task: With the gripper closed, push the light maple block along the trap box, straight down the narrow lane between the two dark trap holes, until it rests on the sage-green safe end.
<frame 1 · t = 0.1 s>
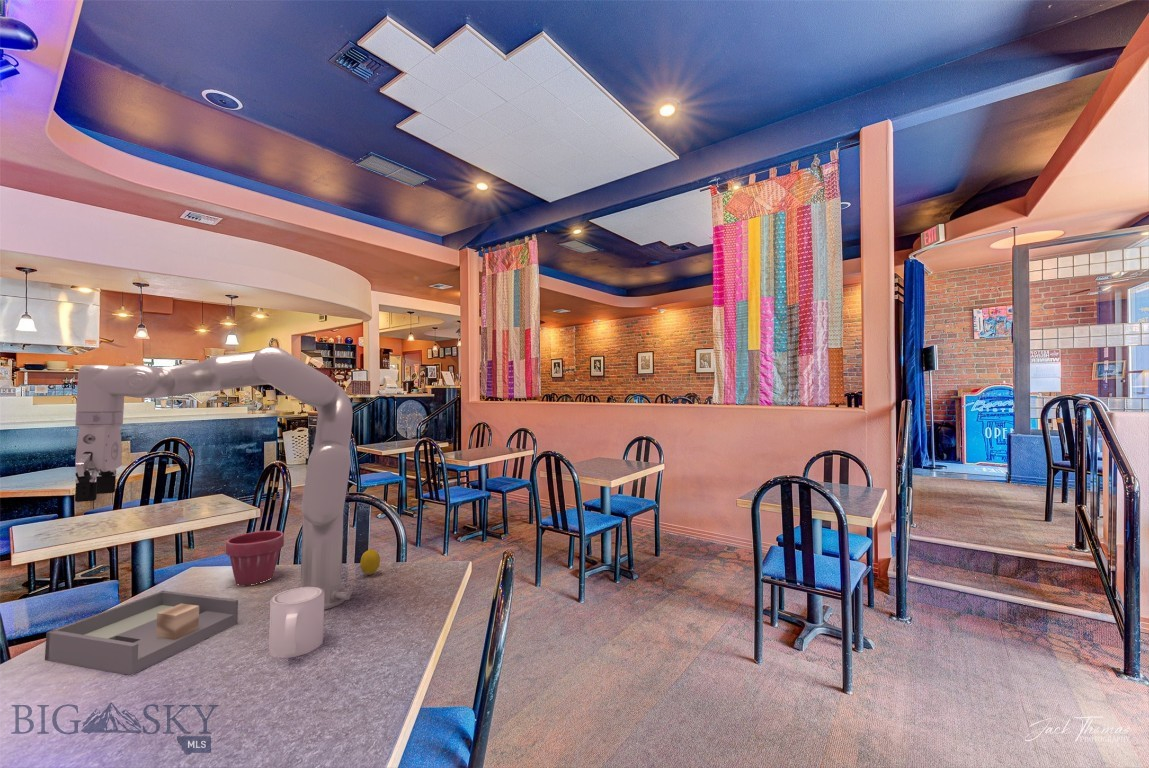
hand: (95, 497, 105), 31 cm above the table, tool pointing down, fingers open, 9 cm apart
lemon: (369, 575, 143), on the table
maple block: (177, 632, 102), point 2 cm above the table, touching trap box
trap box: (150, 640, 103), on the table
plant pot: (254, 581, 138), on the table
mug: (294, 648, 101), on the table
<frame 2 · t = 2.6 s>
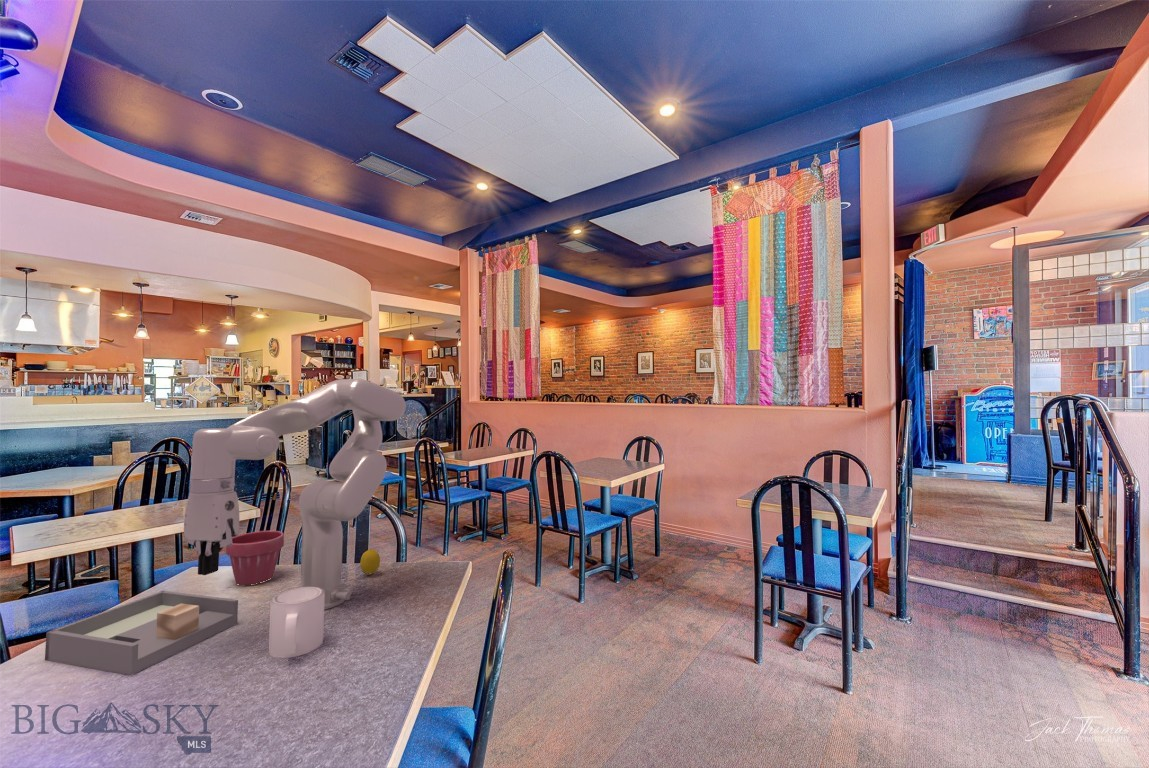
hand: (208, 572, 100), 16 cm above the table, tool pointing down, fingers closed
nothing on the table moved.
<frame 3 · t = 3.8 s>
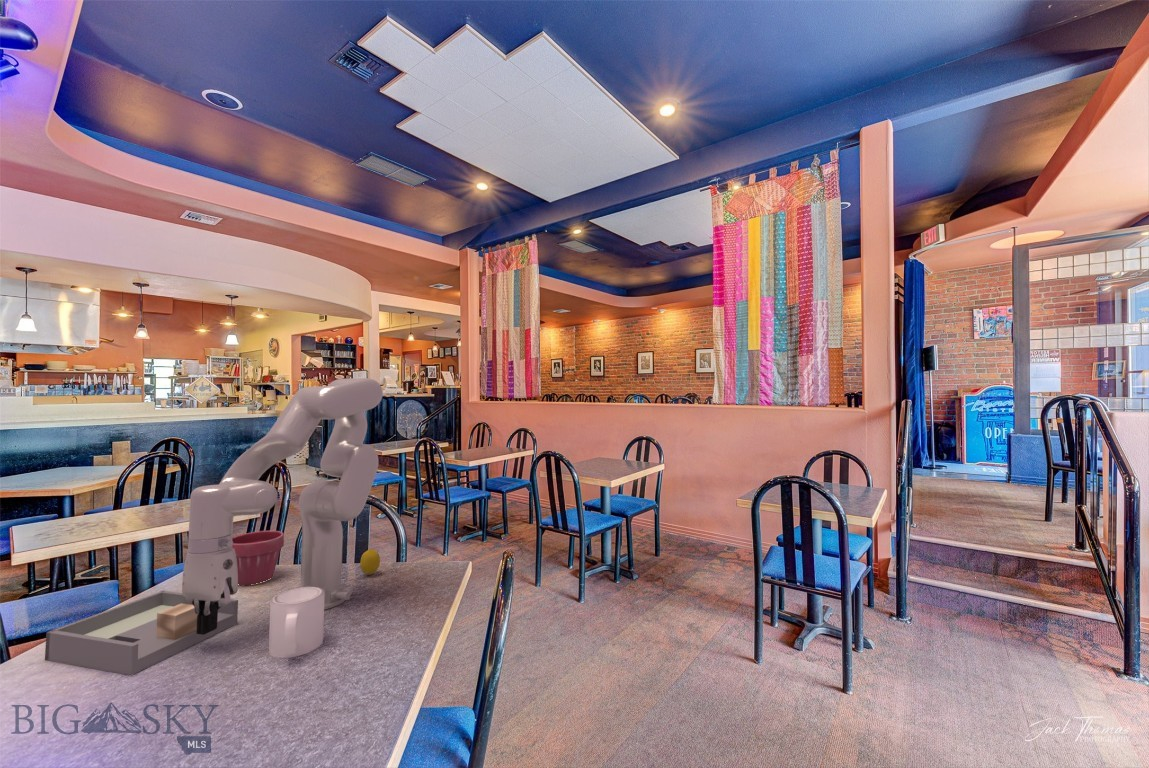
hand: (206, 631, 100), 4 cm above the table, tool pointing down, fingers closed
nothing on the table moved.
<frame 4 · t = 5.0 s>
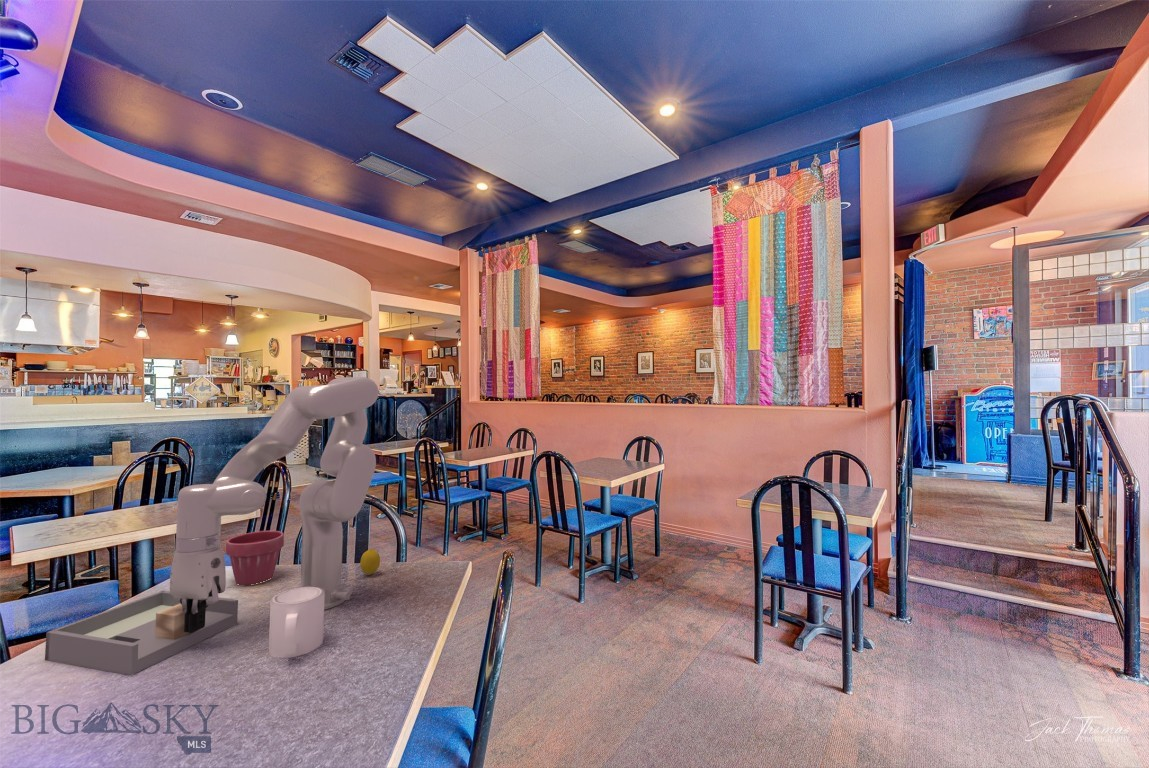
hand: (194, 629, 100), 4 cm above the table, tool pointing down, fingers closed
maple block: (176, 632, 102), point 2 cm above the table, touching gripper, trap box
everything else where it was.
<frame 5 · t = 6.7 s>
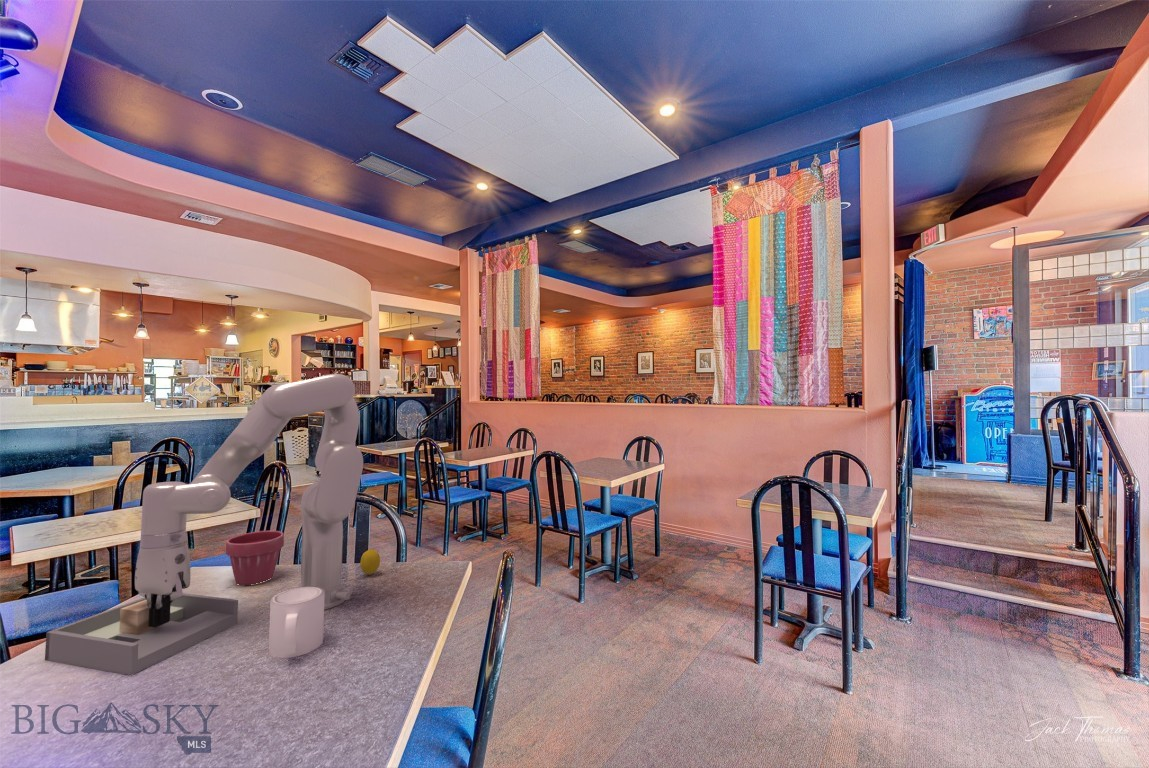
hand: (159, 624, 102), 4 cm above the table, tool pointing down, fingers closed
maple block: (141, 628, 103), point 3 cm above the table, touching gripper, trap box
everything else where it was.
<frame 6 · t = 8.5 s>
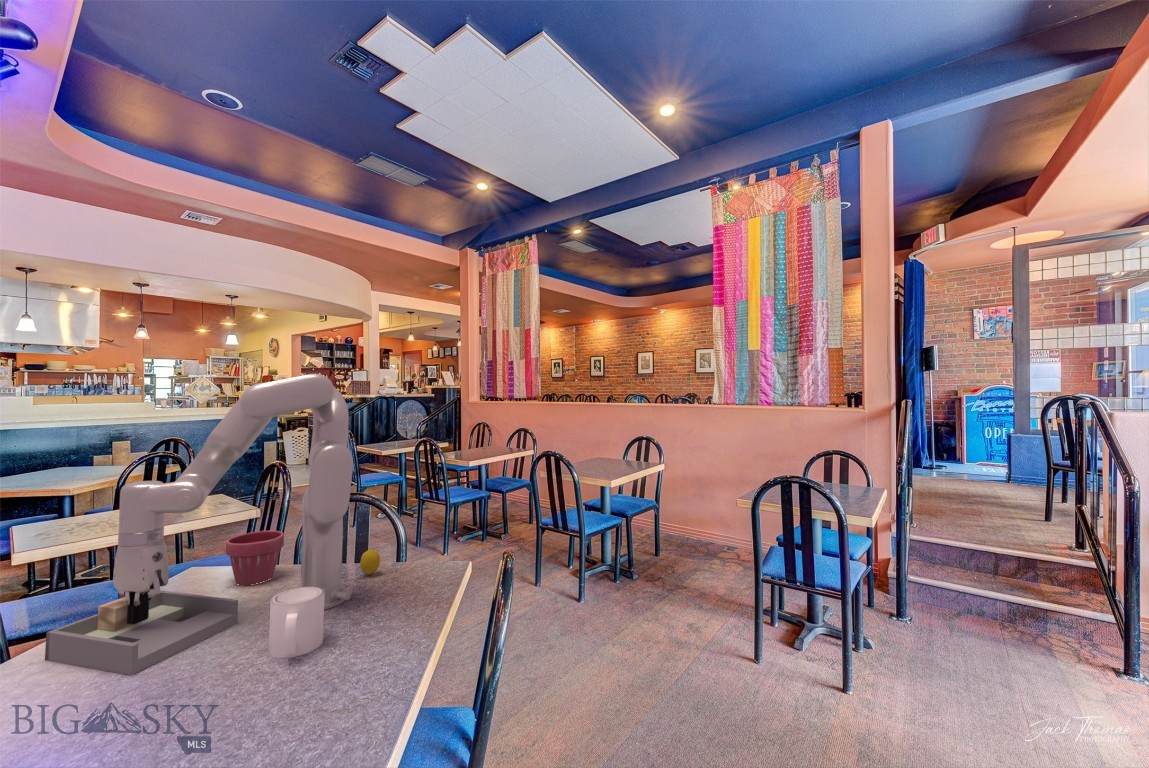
hand: (137, 621, 104), 4 cm above the table, tool pointing down, fingers closed
maple block: (119, 625, 105), point 3 cm above the table, touching gripper, trap box
everything else where it was.
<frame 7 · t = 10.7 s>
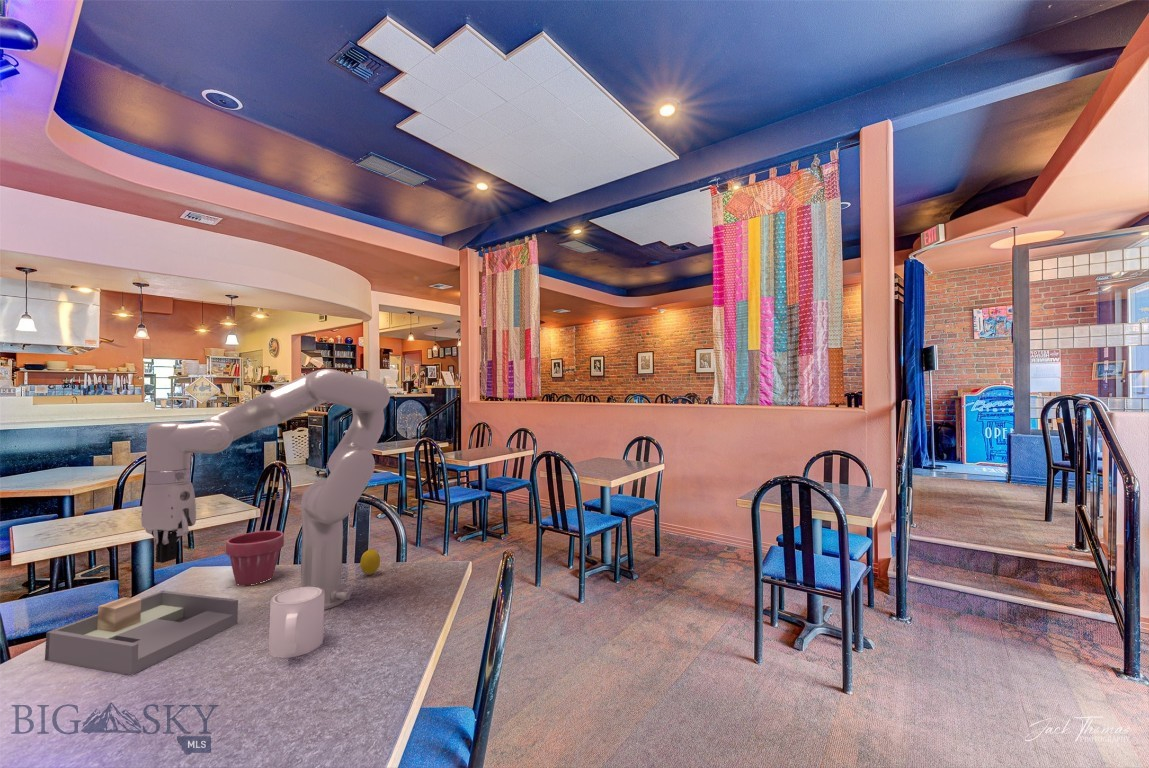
hand: (166, 560, 104), 17 cm above the table, tool pointing down, fingers closed
maple block: (119, 625, 105), point 2 cm above the table, touching trap box
everything else where it was.
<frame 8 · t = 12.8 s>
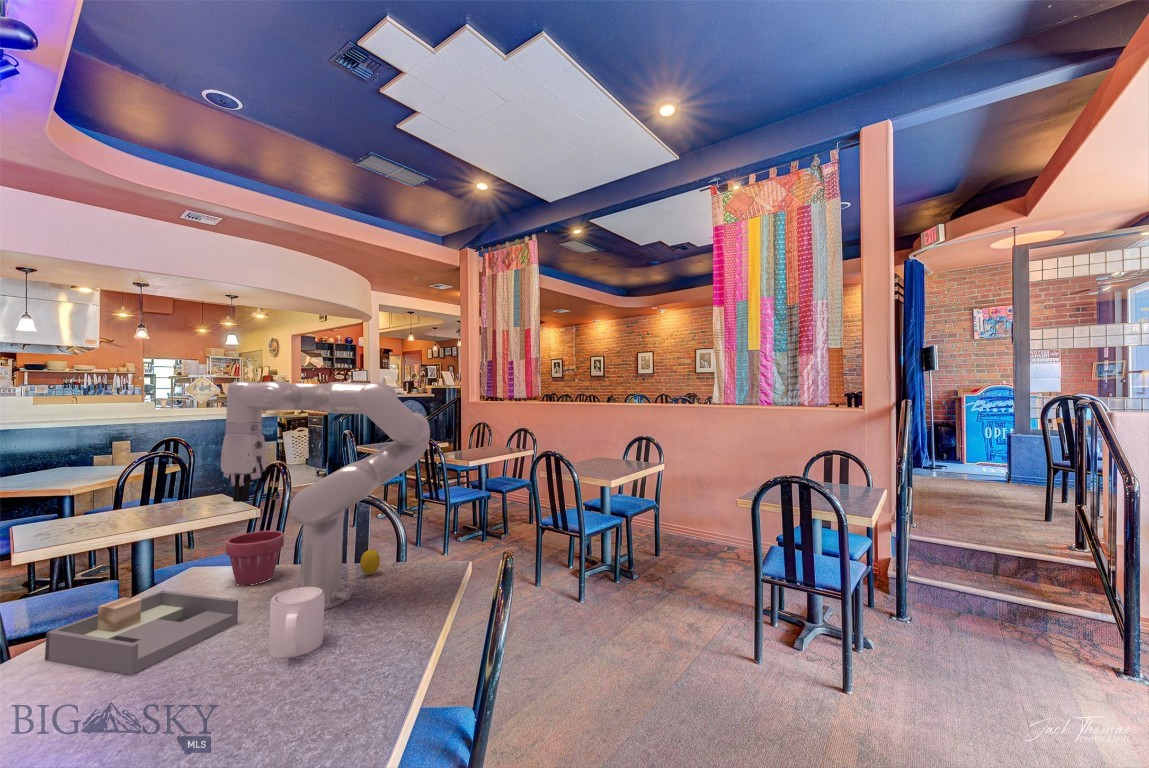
hand: (241, 500, 121), 27 cm above the table, tool pointing down, fingers closed
nothing on the table moved.
at the end: maple block 0.6 cm from the target spot on the trap box, point 2.5 cm above the trap box's base; maple block tilted 0° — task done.
